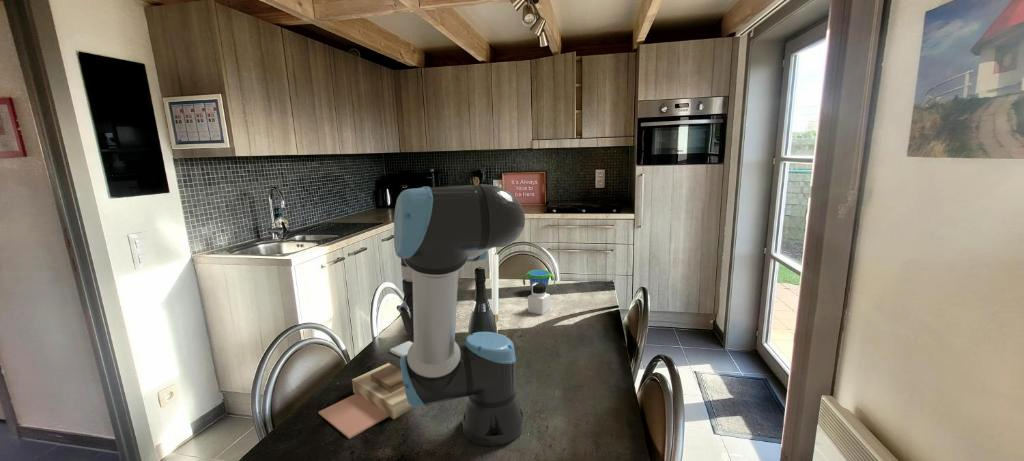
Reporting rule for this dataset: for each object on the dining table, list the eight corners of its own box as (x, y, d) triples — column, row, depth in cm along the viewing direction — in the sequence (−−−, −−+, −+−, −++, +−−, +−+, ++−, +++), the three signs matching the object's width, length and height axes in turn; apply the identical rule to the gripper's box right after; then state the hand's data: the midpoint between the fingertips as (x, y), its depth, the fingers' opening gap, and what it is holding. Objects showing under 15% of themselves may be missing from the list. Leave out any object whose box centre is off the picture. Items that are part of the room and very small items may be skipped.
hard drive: (389, 349, 142) (411, 359, 134) (409, 340, 148) (431, 349, 140) (390, 353, 142) (412, 364, 134) (409, 344, 148) (431, 354, 140)
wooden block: (412, 381, 115) (412, 375, 115) (391, 393, 110) (390, 386, 109) (392, 370, 121) (391, 364, 121) (371, 380, 116) (370, 374, 116)
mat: (389, 416, 106) (389, 414, 106) (349, 439, 98) (349, 437, 98) (357, 394, 116) (356, 393, 116) (318, 413, 108) (318, 411, 108)
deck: (430, 397, 114) (429, 384, 113) (393, 419, 105) (392, 405, 104) (389, 374, 127) (388, 362, 126) (353, 392, 118) (352, 379, 117)
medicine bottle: (550, 309, 176) (550, 282, 174) (542, 315, 170) (542, 287, 168) (536, 306, 180) (535, 280, 178) (527, 312, 174) (527, 285, 172)
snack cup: (557, 290, 201) (557, 270, 199) (552, 297, 191) (551, 276, 189) (527, 287, 206) (526, 268, 204) (520, 294, 196) (520, 274, 195)
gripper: (425, 270, 126) (430, 341, 130) (388, 281, 116) (394, 357, 120) (441, 274, 121) (445, 348, 125) (404, 286, 111) (410, 365, 116)
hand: (420, 352), depth 123 cm, fingers closed
